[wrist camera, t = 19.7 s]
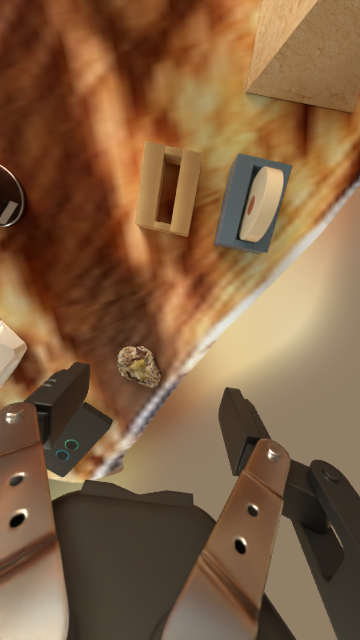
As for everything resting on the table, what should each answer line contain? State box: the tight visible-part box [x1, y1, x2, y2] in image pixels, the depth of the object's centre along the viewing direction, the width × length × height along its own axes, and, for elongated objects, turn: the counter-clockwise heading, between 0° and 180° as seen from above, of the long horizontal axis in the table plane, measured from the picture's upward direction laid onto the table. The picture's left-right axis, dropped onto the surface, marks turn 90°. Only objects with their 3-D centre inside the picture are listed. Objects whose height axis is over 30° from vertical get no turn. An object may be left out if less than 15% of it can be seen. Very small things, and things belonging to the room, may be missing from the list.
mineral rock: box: [118, 346, 161, 388], centre depth 42 cm, size 11×4×8 cm
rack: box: [135, 141, 203, 237], centre depth 33 cm, size 9×11×3 cm
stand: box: [214, 153, 292, 254], centre depth 33 cm, size 8×12×4 cm, turn 169°
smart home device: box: [44, 402, 112, 477], centre depth 47 cm, size 8×2×20 cm
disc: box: [239, 166, 284, 242], centre depth 29 cm, size 2×9×9 cm, turn 169°
